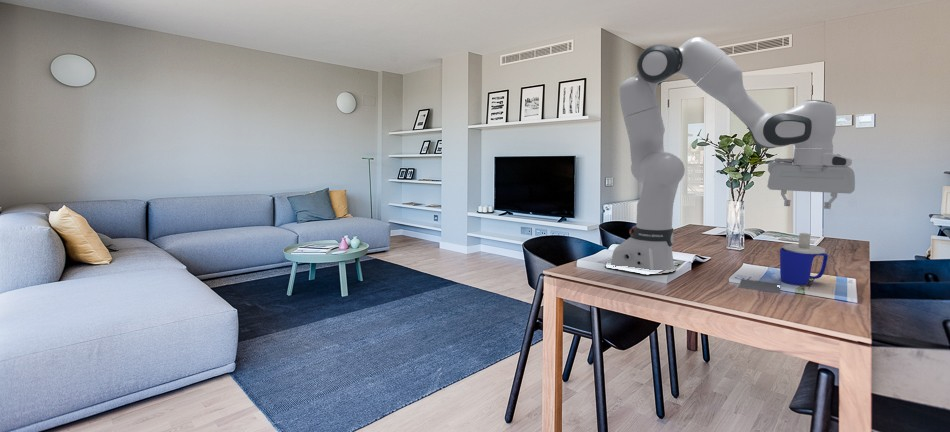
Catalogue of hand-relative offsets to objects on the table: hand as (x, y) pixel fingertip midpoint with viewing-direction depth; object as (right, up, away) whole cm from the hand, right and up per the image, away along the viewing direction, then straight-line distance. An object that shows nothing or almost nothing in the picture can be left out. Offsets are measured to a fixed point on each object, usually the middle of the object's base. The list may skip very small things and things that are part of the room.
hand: (806, 207), depth 133 cm
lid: (+1, -13, +2) cm, 13 cm away
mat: (-13, -23, +1) cm, 27 cm away
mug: (+1, -23, +3) cm, 23 cm away
